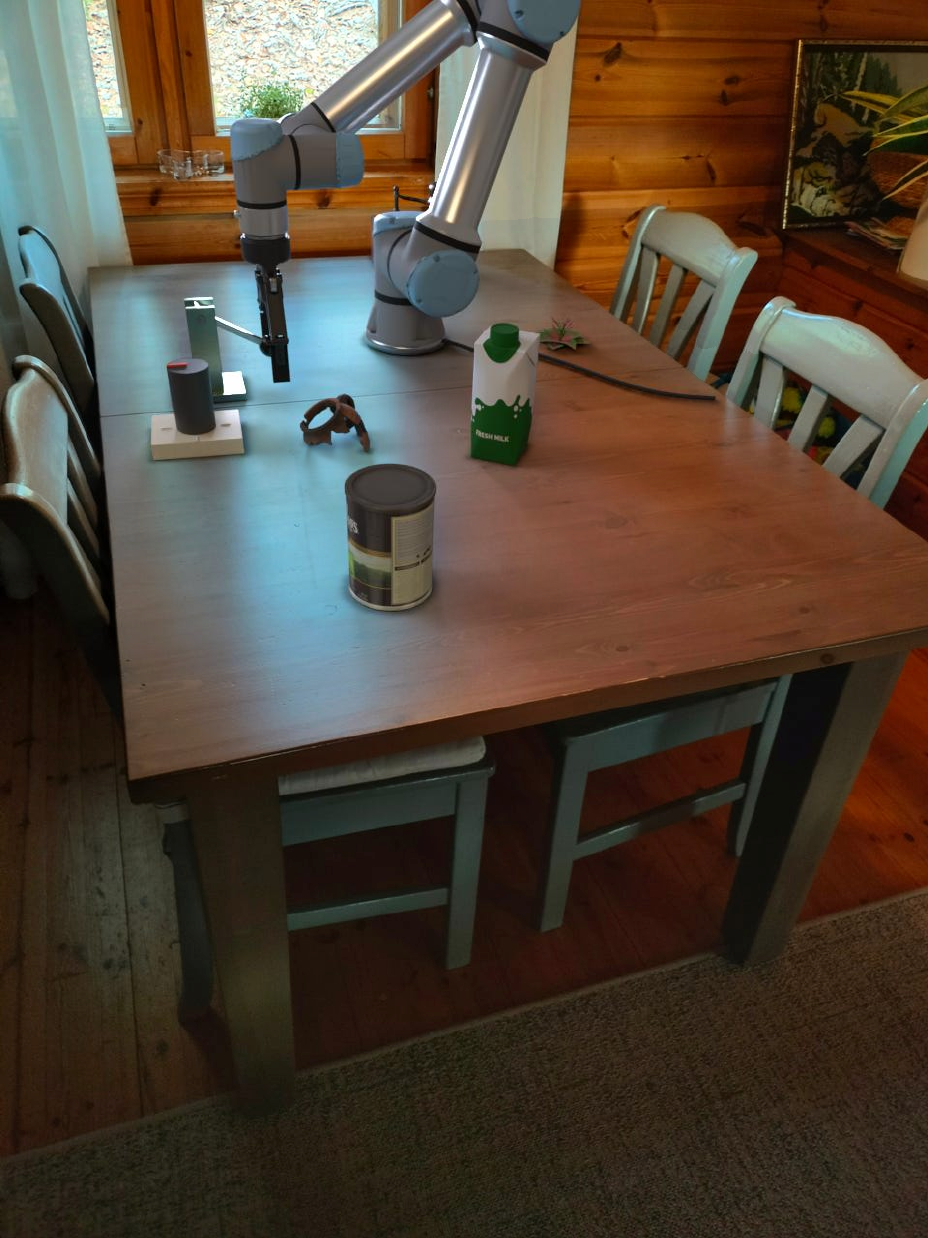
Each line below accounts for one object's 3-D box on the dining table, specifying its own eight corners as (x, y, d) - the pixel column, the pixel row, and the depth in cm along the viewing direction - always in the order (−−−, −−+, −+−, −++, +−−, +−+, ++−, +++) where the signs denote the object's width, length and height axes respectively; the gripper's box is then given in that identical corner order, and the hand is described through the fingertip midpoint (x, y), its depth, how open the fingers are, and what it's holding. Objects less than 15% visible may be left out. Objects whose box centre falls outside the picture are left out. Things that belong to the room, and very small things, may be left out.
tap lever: (274, 355, 154) (283, 336, 152) (277, 363, 151) (286, 344, 150) (187, 316, 146) (195, 296, 145) (188, 324, 143) (197, 303, 142)
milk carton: (463, 458, 138) (469, 328, 125) (481, 434, 144) (489, 308, 132) (518, 470, 136) (530, 338, 123) (534, 444, 142) (547, 317, 130)
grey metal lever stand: (241, 378, 157) (231, 291, 148) (246, 399, 151) (237, 310, 142) (175, 382, 155) (161, 295, 146) (177, 405, 148) (163, 314, 139)
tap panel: (240, 424, 144) (238, 408, 142) (244, 453, 136) (242, 437, 134) (154, 430, 141) (151, 414, 139) (153, 460, 133) (150, 443, 131)
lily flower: (602, 348, 176) (605, 325, 173) (548, 356, 171) (551, 332, 169) (569, 327, 184) (572, 304, 181) (518, 334, 180) (519, 311, 177)
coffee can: (347, 613, 106) (343, 508, 98) (349, 563, 114) (345, 462, 106) (435, 611, 107) (439, 508, 99) (431, 562, 115) (433, 462, 107)
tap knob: (215, 416, 140) (207, 354, 134) (216, 433, 135) (208, 370, 129) (176, 419, 138) (166, 356, 132) (176, 436, 134) (166, 372, 128)
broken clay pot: (370, 464, 136) (341, 424, 130) (317, 481, 140) (287, 443, 134) (381, 411, 143) (354, 371, 138) (331, 429, 147) (302, 390, 141)
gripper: (232, 212, 149) (246, 339, 162) (248, 258, 130) (262, 397, 143) (278, 211, 151) (288, 336, 164) (300, 256, 132) (310, 394, 145)
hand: (276, 365), depth 153 cm, fingers open, 13 cm apart
